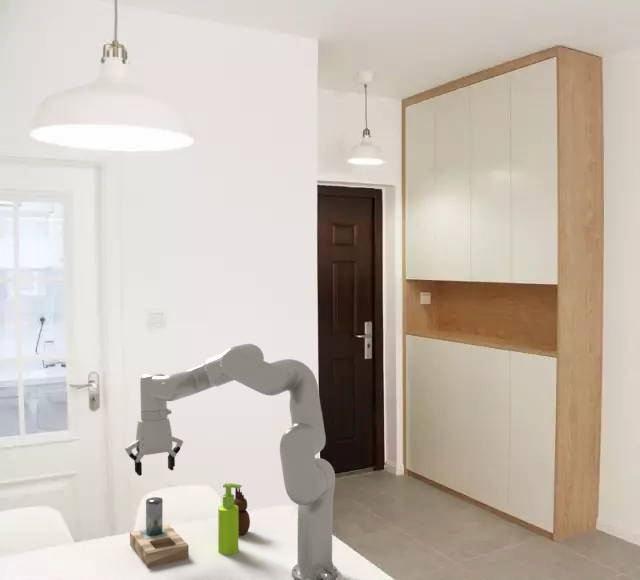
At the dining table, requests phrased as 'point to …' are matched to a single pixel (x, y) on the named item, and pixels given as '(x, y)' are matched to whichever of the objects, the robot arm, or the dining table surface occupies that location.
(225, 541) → the soap dispenser
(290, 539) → the dining table surface
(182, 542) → the housing
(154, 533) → the grey cylinder
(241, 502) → the wooden figurine
